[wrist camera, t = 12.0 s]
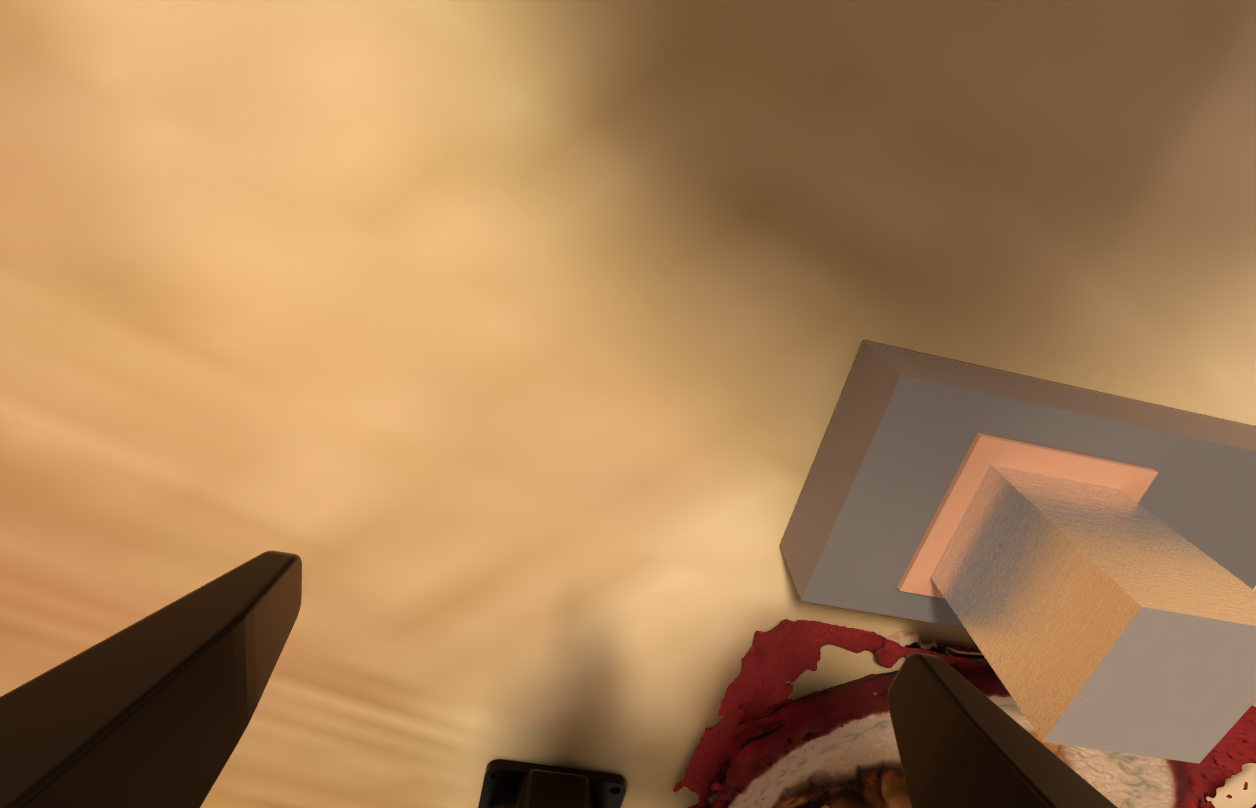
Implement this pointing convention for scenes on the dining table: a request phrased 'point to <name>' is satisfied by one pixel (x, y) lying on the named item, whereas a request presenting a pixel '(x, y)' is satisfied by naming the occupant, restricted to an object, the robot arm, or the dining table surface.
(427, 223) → the dining table surface
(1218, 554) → the parts holder
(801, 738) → the plate with food
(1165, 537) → the aluminium block
